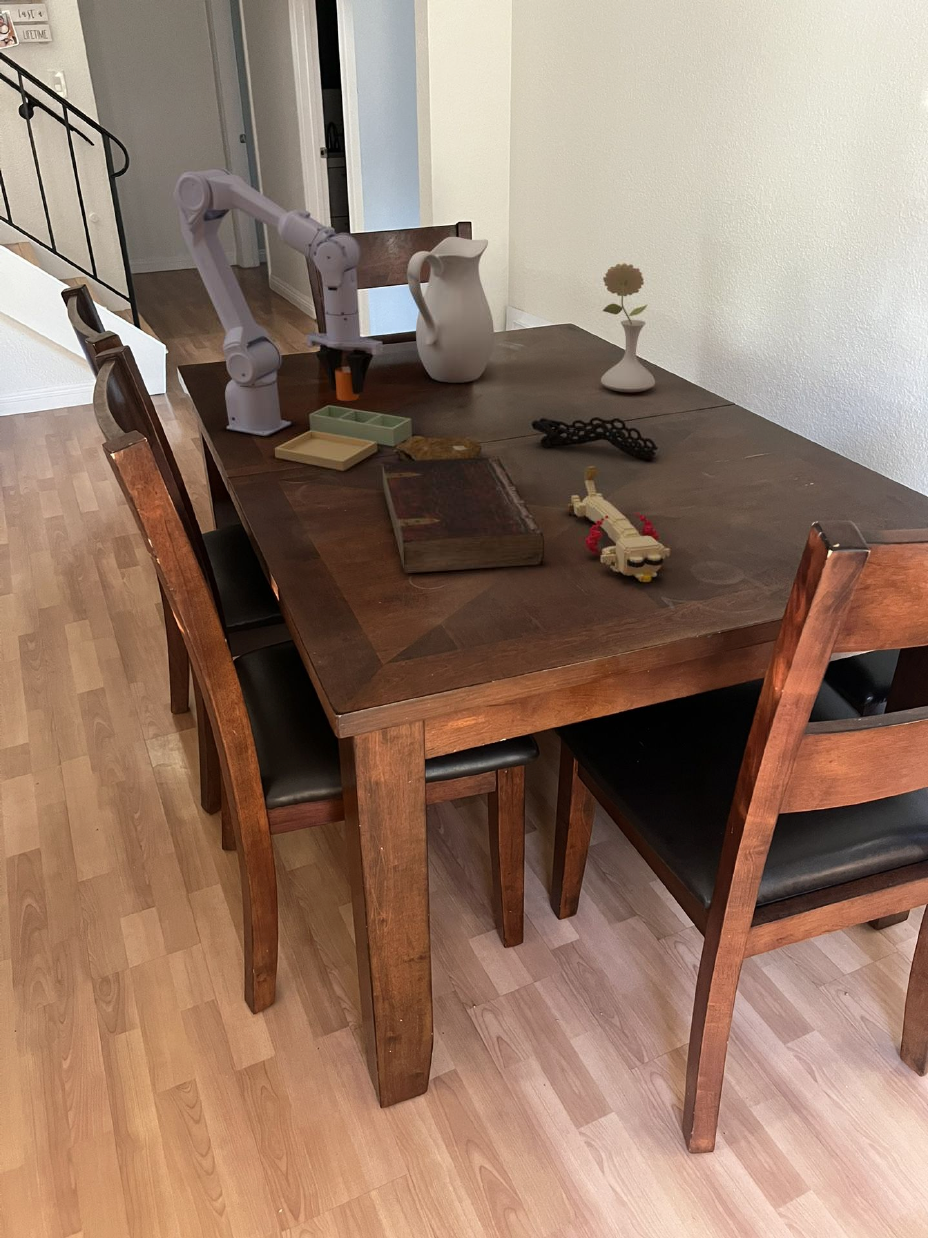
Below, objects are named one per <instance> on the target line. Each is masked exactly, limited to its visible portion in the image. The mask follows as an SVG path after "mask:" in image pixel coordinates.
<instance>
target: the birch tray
mask: <svg viewBox="0 0 928 1238" xmlns="http://www.w3.org/2000/svg"><path fill="white" fill-rule="evenodd" d="M377 452H378V444H377V442H374V441H368V440H363V439H357V438H352V437H346V436H340V435H335V434H329V433H324V432H318V431H312V430H308V431H306V432H304V433H302V434H300V435H298V436H297V437H294V438H292V439H291V440H288V441H287V442H284V443H282V444H280V445H278V446H276V447H275V448H274V455H275V456H274V457H275V458H277V459H282V460H287V461H291V462H297V463H302V464H307V465H311V466H312V465H313V466H317V467H322V468H328V469H333V470H337V471H343V472H344V471H346V470H348V469H350V468H351V467H353V466H355V465H356V464H358V463H359V462H361V461H363V460H365V459H366V458H369V457H370V456H371V455H373V454H375V453H377Z"/></svg>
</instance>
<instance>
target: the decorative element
mask: <svg viewBox="0 0 928 1238" xmlns="http://www.w3.org/2000/svg"><path fill="white" fill-rule="evenodd" d="M596 421H597V422H596ZM594 422H596V423H594ZM615 422H617V423H619V424H621V427H619V426H617V425H616V424H615ZM576 424H580V425H576ZM561 425H562V426H563V427H561ZM608 425H610V426H611V427H608ZM564 427H565V428H564ZM587 427H591V428H587ZM531 428H532V429H533V430H535V431H538V432H539V433H542V434H545V436H543V437H542V438H541V439H540V445H541V446H542V447H543V448H545V449H547V448H550V447H567V446H573V445H581V444H586V443H590V442H598V441H607V442H608V443H610V444H611V445H612V446H613V447H615V448H617V449H618V450H619V451H621V452H623V453H625V454H627V455H629V456H632V457H635V458H639V459H642V460H646V461H652V460H653V458H654V456H655V455H656V453H657V452H656V451H657V450H658V446H657V445H656V443H655V442H654V441H653V440H652V439H651V438H648V437H646V438H644V437H642V434H641V432H640V430H639V429H637V428H635V427H630V428H628V426H626V422H625V421H624V420H622V419H621V418H618V417H614V418H612V419H603V418H602V417H597V416H595V417H591V418H590V419H589V422H585V421H584V420H581V419H576V420H574V421H572V423H571V424H568V423H566V422H564V421H561V420H560V421H558V420H555V419H548V418H546V417H542V418H540V419H539V420H537V419H536V420H533V421H532V422H531ZM570 429H573V430H572V431H571V430H570ZM598 429H601V430H602V431H598ZM624 431H625V432H627V436H626V433H625V432H624ZM581 432H583V433H582V434H581ZM632 432H634V433H636V435H637V437H634V436H633V435H632ZM564 434H565V436H564ZM575 437H576V438H575ZM640 441H641V442H642V443H643V444H642V443H641V442H640ZM648 443H649V444H650V445H651V446H650V445H648Z"/></svg>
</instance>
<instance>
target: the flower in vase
mask: <svg viewBox="0 0 928 1238" xmlns="http://www.w3.org/2000/svg"><path fill="white" fill-rule="evenodd" d="M602 280H603V282H604V286H605V287H606V290H607V291H608V292H609V293H611V294H612V295H614V294H616V295H617V296H618V297H621V298H620V299H621V301H620V302H621V303H620V304H621V305H619V304H617V303H610V304H608V305H606V306H605V307H604V309H602V312H605V313H609V314H612V315H619V314H620V313H621V312H622V311H623V313H624V314H625V316H626V318H627V319H625V320H621V321H620V324H621V325H622V328H623V330H624V336H625V349H624V355H623V357H622V358H621V360H620V361H619V362H618V363H617V364H615V365H613V366H612V367H611V368H609V369H607V371H606V372H605V373H604V374H603V375H602V376H601V379H600V383H601V384H602V386H604V387H605V388H606V389H609V390H612V391H616V392H620V393H640V392H644V391H648V390H650V389H652V388H653V387H654V386H655V384H656V381H655V378H654V376H653V374H652V373H651V372H650V370H648V369H647V368H646V367H645V366H644V365H642V364H641V362H639V360H638V357H637V347H638V341H639V336H640V333H641V331H642V329H643V327H644V326H645V325H646V322H645V321H644V320H641V319H640V320H639V319H631V318H630V317H632V316H633V317H634V316H637V315H639V314H641V313H642V312H643V311H645V310H646V308H647V307H648V304H646V305H642V306H640V307H636V308H634V309H633V310H632V311H631V312H630V313H629V314H628V312H627V310H626V308H625V307H624V297H627V296H632V295H633V294H638V293H639V292H640V289H642V287H643V286H644V284H645V282H644V278H643V273H642V272H641V269H640V268H638V267H637V268H636V267H634V265H633V264H627V263H626V262H624V263H622V264H620V263H617V264H616V265H615V266H611V267H610V268H608V269H607V271H606V273H605V276H603V277H602Z"/></svg>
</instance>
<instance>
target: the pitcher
mask: <svg viewBox="0 0 928 1238" xmlns="http://www.w3.org/2000/svg"><path fill="white" fill-rule="evenodd" d="M488 245H489V240H488V239H469V238H464V237H459V236H448V237H446V238H444V239H443V240H441V242H439V243H438V244H437V245H436V246H435V247H434V248H433V249H432V250H431V251H428V250H427V251H426V250H421V251H417V252H416V253H414V254H413V255H412V256H411V258H410V260H409V261H408V265H407V271H406V273H407V275H406V276H407V283H408V288H409V292H410V294H411V297H412V298H413V300H414V303H415V304H416V307H417V308H418V314H417V319H416V327H415V328H416V329H415V338H416V339H415V340H416V347H417V352H418V356H419V359H420V361H421V363H422V365H423V367H424V369H425V371H426V372H427V373H428V375H429V377H431V379H433V380H434V381H435V380H436V381H438V382H440V383H441V382H442V383H448V384H449V383H452V384H457V383H458V384H460V383H462V384H463V383H469V382H473V381H475V380H478V379H479V378H481V376H482V375H483V373H484V371H485V370H486V368H487V365H488V363H489V362H490V359H491V356H492V353H493V348H494V341H495V340H494V339H495V329H494V328H495V327H494V320H493V315H492V310H491V308H490V305H489V302H488V300H487V296H486V294H485V291H484V287H483V285H482V281H481V276H480V269H479V268H480V261H481V257H482V256H483V254H484V252H485V251H486V249H487V247H488ZM425 261H426V262H428V264H429V267H430V272H429V273H430V274H429V279H428V283H427V286H426V289H425V292H424V293H423V291H422V286H421V269H422V265H423V263H424V262H425ZM423 294H424V295H423Z"/></svg>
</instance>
